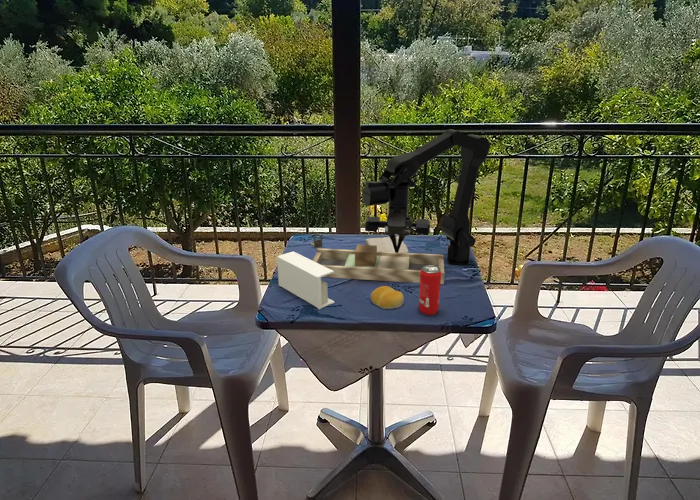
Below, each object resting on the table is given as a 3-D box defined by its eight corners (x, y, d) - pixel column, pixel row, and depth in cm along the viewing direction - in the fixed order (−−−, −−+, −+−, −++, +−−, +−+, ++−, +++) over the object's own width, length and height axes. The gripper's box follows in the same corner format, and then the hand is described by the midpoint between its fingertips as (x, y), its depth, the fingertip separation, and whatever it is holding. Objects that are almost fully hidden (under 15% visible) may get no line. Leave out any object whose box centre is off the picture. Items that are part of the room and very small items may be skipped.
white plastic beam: (335, 303, 137) (334, 271, 133) (318, 309, 133) (317, 277, 130) (292, 279, 151) (290, 250, 147) (276, 284, 147) (274, 254, 144)
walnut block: (376, 259, 158) (376, 245, 156) (374, 266, 153) (375, 252, 151) (357, 258, 159) (357, 244, 157) (354, 265, 153) (354, 251, 152)
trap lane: (442, 265, 160) (443, 254, 158) (443, 284, 147) (444, 273, 146) (317, 258, 165) (317, 248, 164) (308, 276, 152) (307, 265, 151)
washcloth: (375, 263, 162) (375, 254, 161) (364, 243, 179) (364, 235, 178) (411, 260, 164) (412, 251, 163) (396, 241, 181) (397, 233, 180)
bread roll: (389, 313, 131) (389, 299, 130) (365, 301, 138) (365, 288, 136) (411, 303, 136) (411, 290, 135) (387, 292, 143) (387, 279, 141)
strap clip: (309, 244, 178) (308, 233, 176) (317, 243, 179) (316, 231, 177) (319, 252, 171) (318, 240, 169) (327, 251, 172) (326, 239, 170)
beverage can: (416, 306, 134) (418, 265, 130) (435, 306, 135) (438, 264, 130) (420, 316, 129) (423, 273, 125) (440, 315, 130) (443, 272, 125)
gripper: (362, 209, 141) (362, 261, 147) (431, 211, 138) (428, 264, 144) (367, 198, 151) (367, 247, 157) (431, 200, 149) (428, 250, 154)
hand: (396, 252), depth 153 cm, fingers closed
